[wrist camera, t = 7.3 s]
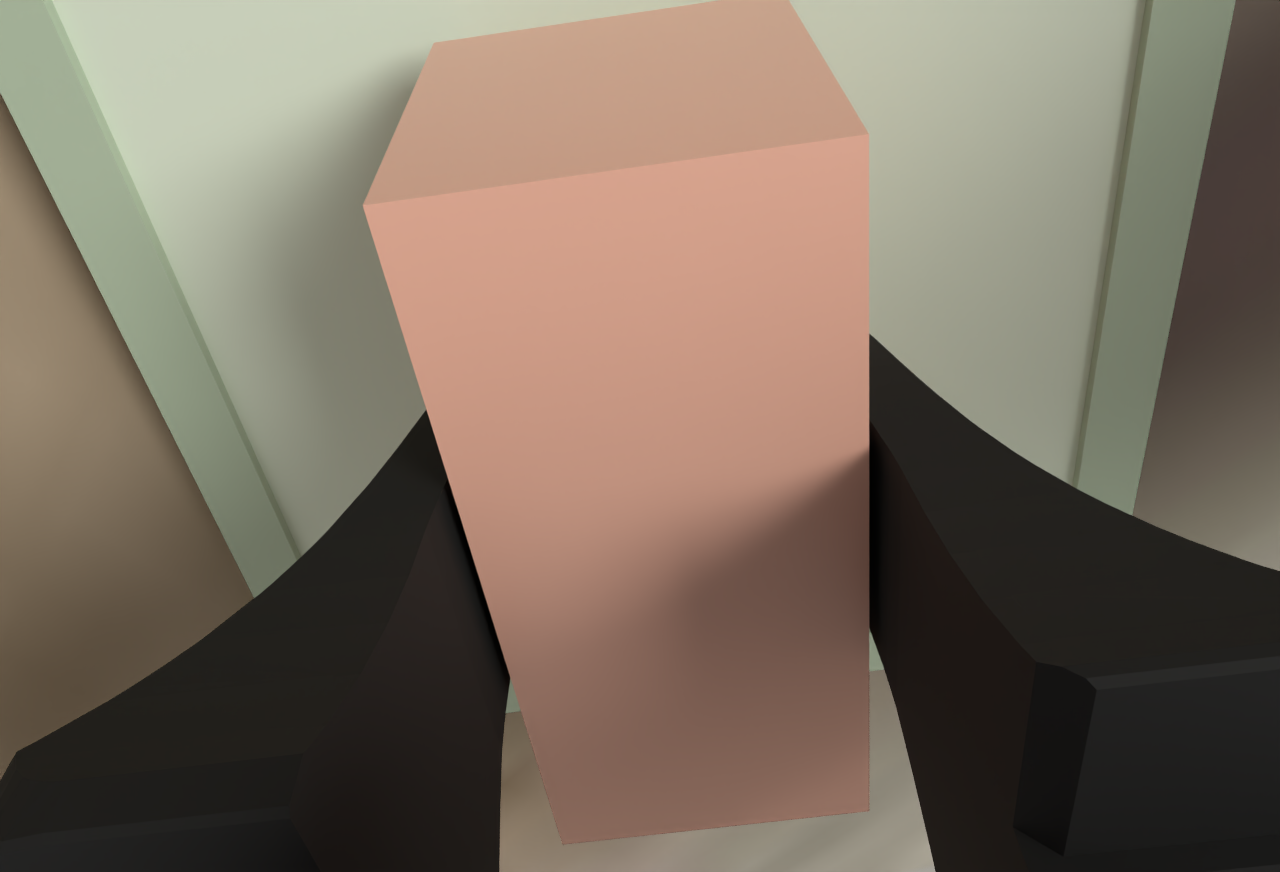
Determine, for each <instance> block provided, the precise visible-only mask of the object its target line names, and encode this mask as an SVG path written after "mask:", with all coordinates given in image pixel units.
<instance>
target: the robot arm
mask: <svg viewBox="0 0 1280 872" xmlns="http://www.w3.org/2000/svg"><path fill="white" fill-rule="evenodd" d="M869 629H870V632H871V634H872V637H873V640H874V643H875V645H876V648H877V651H878V653H879V656H880V659H881V662H882V664H883V667H884V670H885V673H886V675H887V679H888V682H889V685H890V688H891V691H892V695H893V698H894V701H895V704H896V708H897V712H898V716H899V720H900V724H901V728H902V732H903V736H904V740H905V744H906V748H907V752H908V756H909V760H910V764H911V768H912V772H913V776H914V781H915V785H916V789H917V793H918V798H919V802H920V806H921V810H922V815H923V819H924V823H925V827H926V832H927V836H928V840H929V844H930V849H931V853H932V857H933V862H934V866H935V871H936V872H1280V571H1277V570H1274V569H1270V568H1267V567H1263V566H1260V565H1257V564H1254V563H1251V562H1248V561H1245V560H1242V559H1240V558H1237V557H1234V556H1231V555H1228V554H1226V553H1223V552H1220V551H1217V550H1215V549H1212V548H1209V547H1206V546H1204V545H1201V544H1198V543H1195V542H1193V541H1190V540H1188V539H1185V538H1183V537H1180V536H1178V535H1175V534H1173V533H1170V532H1168V531H1166V530H1163V529H1161V528H1158V527H1156V526H1154V525H1151V524H1149V523H1147V522H1145V521H1143V520H1140V519H1138V518H1136V517H1134V516H1132V515H1130V514H1127V513H1125V512H1123V511H1121V510H1119V509H1117V508H1114V507H1112V506H1110V505H1108V504H1106V503H1104V502H1102V501H1100V500H1098V499H1096V498H1094V497H1092V496H1090V495H1088V494H1086V493H1084V492H1082V491H1080V490H1078V489H1077V488H1075V487H1073V486H1071V485H1070V484H1068V483H1066V482H1064V481H1063V480H1061V479H1059V478H1057V477H1056V476H1054V475H1052V474H1050V473H1049V472H1047V471H1045V470H1043V469H1042V468H1040V467H1038V466H1036V465H1035V464H1033V463H1031V462H1030V461H1028V460H1027V459H1025V458H1023V457H1022V456H1020V455H1019V454H1017V453H1016V452H1014V451H1013V450H1011V449H1010V448H1008V447H1007V446H1005V445H1004V444H1002V443H1001V442H1000V441H998V440H997V439H995V438H994V437H992V436H991V435H989V434H988V433H987V432H985V431H984V430H982V429H981V428H979V427H978V426H977V425H976V424H974V423H973V422H972V421H970V420H969V419H968V418H966V417H965V416H964V415H963V414H961V413H960V412H959V411H958V410H956V409H955V408H954V407H953V406H952V405H950V404H949V403H948V402H947V401H945V400H944V399H943V398H942V397H940V396H939V395H938V394H937V393H936V392H934V391H933V390H932V389H931V388H930V387H928V386H927V385H926V384H925V383H924V382H923V381H922V380H920V379H919V378H918V377H917V376H916V375H915V374H914V373H913V372H911V371H910V370H909V369H908V368H907V367H906V366H905V365H904V364H903V363H901V362H900V361H899V360H898V359H897V358H896V357H895V356H894V355H893V354H892V353H891V352H889V351H888V350H887V349H886V348H885V347H884V346H883V345H882V344H881V343H880V342H879V341H878V340H876V339H875V338H874V337H873V336H872V335H871V334H869ZM509 685H510V675H509V672H508V668H507V665H506V662H505V659H504V656H503V652H502V649H501V646H500V643H499V640H498V636H497V633H496V630H495V627H494V624H493V620H492V617H491V614H490V611H489V608H488V604H487V601H486V598H485V595H484V592H483V588H482V585H481V582H480V579H479V576H478V573H477V569H476V566H475V563H474V560H473V557H472V553H471V550H470V547H469V544H468V541H467V537H466V534H465V531H464V528H463V525H462V521H461V518H460V515H459V512H458V509H457V505H456V502H455V499H454V496H453V493H452V489H451V486H450V483H449V480H448V477H447V474H446V470H445V467H444V464H443V461H442V458H441V454H440V451H439V448H438V445H437V442H436V438H435V435H434V432H433V429H432V426H431V422H430V419H429V416H428V413H427V410H425V412H424V413H423V414H422V416H421V417H420V418H419V420H418V421H417V422H416V424H415V425H414V426H413V428H412V429H411V430H410V432H409V433H408V434H407V436H406V437H405V438H404V440H403V441H402V442H401V444H400V445H399V446H398V448H397V449H396V450H395V452H394V453H393V454H392V455H391V457H390V458H389V459H388V460H387V462H386V463H385V464H384V465H383V467H382V468H381V469H380V470H379V472H378V473H377V474H376V476H375V477H374V478H373V479H372V481H371V482H370V483H369V484H368V486H367V487H366V488H365V489H364V490H363V491H362V492H361V493H360V495H359V496H358V497H357V498H356V499H355V500H354V501H353V502H352V504H351V505H350V506H349V507H348V508H347V509H346V510H345V511H344V513H343V514H342V515H341V516H340V517H339V518H338V519H337V520H336V522H335V523H334V524H333V525H332V526H331V527H330V528H329V529H328V530H327V532H326V533H325V534H324V535H323V536H322V537H321V538H320V539H319V540H318V541H317V542H316V543H315V544H314V545H313V546H312V547H311V548H310V549H309V550H308V551H307V552H306V553H305V554H304V555H303V556H302V557H300V558H299V559H298V560H297V561H296V562H295V563H294V564H293V565H292V566H291V567H290V568H288V569H287V570H286V571H285V572H284V573H283V574H282V575H281V576H280V577H279V578H278V579H276V580H275V581H274V582H273V583H272V584H271V585H270V586H268V587H267V588H266V589H265V590H264V591H263V592H262V593H260V594H259V595H258V596H256V597H255V598H254V599H253V600H251V601H250V602H249V603H248V604H246V605H245V606H244V607H243V608H241V609H240V610H239V611H237V612H236V613H235V614H234V615H232V616H231V617H230V618H229V619H227V620H226V621H225V622H223V623H222V624H221V625H220V626H218V627H217V628H216V629H215V630H213V631H212V632H211V633H210V634H208V635H207V636H206V637H204V638H203V639H202V640H200V641H199V642H197V643H196V644H195V645H193V646H192V647H190V648H189V649H187V650H186V651H185V652H183V653H182V654H180V655H179V656H177V657H176V658H175V659H173V660H172V661H170V662H169V663H167V664H166V665H164V666H163V667H161V668H160V669H158V670H157V671H155V672H154V673H152V674H150V675H149V676H147V677H146V678H144V679H143V680H141V681H140V682H138V683H137V684H135V685H134V686H132V687H130V688H129V689H127V690H126V691H124V692H122V693H121V694H119V695H117V696H116V697H114V698H112V699H111V700H109V701H108V702H106V703H104V704H102V705H101V706H99V707H97V708H95V709H93V710H92V711H90V712H88V713H86V714H85V715H83V716H81V717H79V718H77V719H76V720H74V721H72V722H70V723H69V724H67V725H65V726H63V727H61V728H60V729H58V730H56V731H54V732H53V733H51V734H49V735H47V736H45V737H44V738H42V739H40V740H38V741H37V742H35V743H33V744H31V745H29V746H27V747H25V748H23V749H21V750H19V751H17V753H16V754H15V756H14V758H13V759H12V761H11V763H10V764H9V766H8V768H7V770H6V772H5V773H4V775H3V777H2V779H1V781H0V872H499V847H500V798H501V763H502V744H503V733H504V722H505V714H506V707H507V699H508V692H509Z"/></svg>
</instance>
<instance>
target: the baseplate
mask: <svg viewBox="0 0 1280 872" xmlns="http://www.w3.org/2000/svg"><path fill="white" fill-rule="evenodd" d="M711 1H718V0H0V93H1V95H2V97H3V99H4V101H5V103H6V105H7V107H8V109H9V111H10V113H11V115H12V117H13V119H14V121H15V123H16V125H17V127H18V129H19V131H20V133H21V135H22V137H23V139H24V141H25V143H26V145H27V147H28V149H29V151H30V153H31V155H32V157H33V159H34V161H35V163H36V165H37V167H38V169H39V171H40V173H41V175H42V177H43V179H44V181H45V183H46V185H47V187H48V189H49V191H50V193H51V195H52V197H53V199H54V201H55V203H56V205H57V207H58V208H59V210H60V212H61V214H62V216H63V218H64V220H65V222H66V224H67V226H68V228H69V230H70V232H71V234H72V236H73V238H74V240H75V242H76V244H77V246H78V248H79V250H80V252H81V254H82V256H83V258H84V260H85V262H86V264H87V266H88V268H89V270H90V272H91V274H92V276H93V278H94V280H95V282H96V284H97V286H98V288H99V290H100V292H101V294H102V296H103V298H104V300H105V302H106V304H107V306H108V308H109V310H110V312H111V314H112V316H113V318H114V320H115V322H116V324H117V326H118V328H119V330H120V332H121V334H122V336H123V338H124V340H125V342H126V344H127V346H128V348H129V350H130V352H131V354H132V356H133V358H134V360H135V362H136V364H137V366H138V368H139V370H140V372H141V374H142V376H143V378H144V380H145V382H146V384H147V386H148V388H149V390H150V392H151V394H152V396H153V398H154V400H155V402H156V404H157V406H158V408H159V410H160V412H161V414H162V416H163V418H164V420H165V422H166V424H167V426H168V428H169V430H170V432H171V434H172V436H173V438H174V440H175V442H176V443H177V445H178V447H179V449H180V451H181V453H182V455H183V457H184V459H185V461H186V463H187V465H188V467H189V469H190V471H191V473H192V475H193V477H194V479H195V481H196V483H197V485H198V487H199V489H200V491H201V493H202V495H203V497H204V499H205V501H206V503H207V505H208V507H209V509H210V511H211V513H212V515H213V517H214V519H215V521H216V523H217V525H218V527H219V529H220V531H221V533H222V535H223V537H224V539H225V541H226V543H227V545H228V547H229V549H230V551H231V553H232V555H233V557H234V559H235V561H236V563H237V565H238V567H239V569H240V571H241V573H242V575H243V577H244V579H245V581H246V583H247V585H248V587H249V589H250V591H251V593H252V595H253V597H254V598H255V597H256V596H258V595H259V594H260V593H262V592H263V591H264V590H265V589H266V588H267V587H268V586H270V585H271V584H272V583H273V582H274V581H275V580H276V579H278V578H279V577H280V576H281V575H282V574H283V573H284V572H285V571H286V570H287V569H288V568H290V567H291V566H292V565H293V564H294V563H295V562H296V561H297V560H298V559H299V558H300V557H302V556H303V555H304V554H305V553H306V552H307V551H308V550H309V549H310V548H311V547H312V546H313V545H314V544H315V543H316V542H317V541H318V540H319V539H320V538H321V537H322V536H323V535H324V534H325V533H326V532H327V530H328V529H329V528H330V527H331V526H332V525H333V524H334V523H335V522H336V520H337V519H338V518H339V517H340V516H341V515H342V514H343V513H344V511H345V510H346V509H347V508H348V507H349V506H350V505H351V504H352V502H353V501H354V500H355V499H356V498H357V497H358V496H359V495H360V493H361V492H362V491H363V490H364V489H365V488H366V487H367V486H368V484H369V483H370V482H371V481H372V479H373V478H374V477H375V476H376V474H377V473H378V472H379V470H380V469H381V468H382V467H383V465H384V464H385V463H386V462H387V460H388V459H389V458H390V457H391V455H392V454H393V453H394V452H395V450H396V449H397V448H398V446H399V445H400V444H401V442H402V441H403V440H404V438H405V437H406V436H407V434H408V433H409V432H410V430H411V429H412V428H413V426H414V425H415V424H416V422H417V421H418V420H419V418H420V417H421V416H422V414H423V413H424V412H425V410H426V406H425V403H424V400H423V397H422V394H421V390H420V387H419V384H418V381H417V378H416V375H415V371H414V368H413V365H412V362H411V359H410V355H409V352H408V349H407V346H406V343H405V339H404V336H403V333H402V330H401V327H400V323H399V320H398V317H397V314H396V311H395V307H394V304H393V301H392V298H391V295H390V291H389V288H388V285H387V282H386V279H385V276H384V272H383V269H382V266H381V263H380V260H379V256H378V253H377V250H376V247H375V244H374V240H373V237H372V234H371V231H370V228H369V224H368V221H367V218H366V215H365V212H364V208H363V204H364V201H365V199H366V197H367V194H368V192H369V190H370V188H371V185H372V183H373V181H374V178H375V176H376V174H377V171H378V169H379V167H380V165H381V162H382V160H383V158H384V155H385V153H386V151H387V149H388V146H389V144H390V142H391V139H392V137H393V135H394V133H395V130H396V128H397V126H398V123H399V121H400V119H401V117H402V114H403V112H404V110H405V107H406V105H407V103H408V101H409V98H410V96H411V94H412V91H413V89H414V87H415V85H416V82H417V80H418V78H419V75H420V73H421V71H422V69H423V66H424V64H425V62H426V59H427V57H428V55H429V52H430V50H431V48H432V46H433V43H436V42H442V41H449V40H456V39H462V38H469V37H476V36H483V35H489V34H496V33H503V32H510V31H516V30H523V29H530V28H536V27H543V26H550V25H557V24H563V23H570V22H577V21H584V20H590V19H597V18H604V17H610V16H617V15H624V14H631V13H637V12H644V11H651V10H658V9H664V8H671V7H678V6H684V5H691V4H698V3H705V2H711ZM789 1H790V3H791V5H792V6H793V8H794V10H795V11H796V13H797V15H798V16H799V18H800V20H801V21H802V23H803V25H804V26H805V28H806V30H807V31H808V33H809V35H810V36H811V38H812V40H813V41H814V43H815V45H816V46H817V48H818V50H819V51H820V53H821V55H822V56H823V58H824V60H825V61H826V63H827V65H828V66H829V68H830V70H831V71H832V73H833V75H834V76H835V78H836V80H837V81H838V83H839V85H840V86H841V88H842V90H843V91H844V93H845V95H846V96H847V98H848V100H849V101H850V103H851V105H852V106H853V108H854V110H855V111H856V113H857V115H858V116H859V118H860V120H861V121H862V123H863V125H864V126H865V128H866V130H867V131H868V133H869V334H871V335H872V336H873V337H874V338H875V339H876V340H878V341H879V342H880V343H881V344H882V345H883V346H884V347H885V348H886V349H887V350H888V351H889V352H891V353H892V354H893V355H894V356H895V357H896V358H897V359H898V360H899V361H900V362H901V363H903V364H904V365H905V366H906V367H907V368H908V369H909V370H910V371H911V372H913V373H914V374H915V375H916V376H917V377H918V378H919V379H920V380H922V381H923V382H924V383H925V384H926V385H927V386H928V387H930V388H931V389H932V390H933V391H934V392H936V393H937V394H938V395H939V396H940V397H942V398H943V399H944V400H945V401H947V402H948V403H949V404H950V405H952V406H953V407H954V408H955V409H956V410H958V411H959V412H960V413H961V414H963V415H964V416H965V417H966V418H968V419H969V420H970V421H972V422H973V423H974V424H976V425H977V426H978V427H979V428H981V429H982V430H984V431H985V432H987V433H988V434H989V435H991V436H992V437H994V438H995V439H997V440H998V441H1000V442H1001V443H1002V444H1004V445H1005V446H1007V447H1008V448H1010V449H1011V450H1013V451H1014V452H1016V453H1017V454H1019V455H1020V456H1022V457H1023V458H1025V459H1027V460H1028V461H1030V462H1031V463H1033V464H1035V465H1036V466H1038V467H1040V468H1042V469H1043V470H1045V471H1047V472H1049V473H1050V474H1052V475H1054V476H1056V477H1057V478H1059V479H1061V480H1063V481H1064V482H1066V483H1068V484H1070V485H1071V486H1073V487H1075V488H1077V489H1078V490H1080V491H1082V492H1084V493H1086V494H1088V495H1090V496H1092V497H1094V498H1096V499H1098V500H1100V501H1102V502H1104V503H1106V504H1108V505H1110V506H1112V507H1114V508H1117V509H1119V510H1121V511H1123V512H1125V513H1127V514H1130V515H1132V514H1133V509H1134V504H1135V499H1136V495H1137V490H1138V485H1139V480H1140V475H1141V470H1142V465H1143V460H1144V455H1145V450H1146V445H1147V440H1148V435H1149V430H1150V425H1151V420H1152V415H1153V410H1154V405H1155V400H1156V395H1157V390H1158V385H1159V380H1160V375H1161V370H1162V365H1163V360H1164V355H1165V350H1166V345H1167V340H1168V335H1169V330H1170V325H1171V320H1172V315H1173V310H1174V305H1175V300H1176V295H1177V290H1178V285H1179V280H1180V275H1181V270H1182V266H1183V261H1184V256H1185V251H1186V246H1187V241H1188V236H1189V231H1190V226H1191V221H1192V216H1193V211H1194V206H1195V201H1196V196H1197V191H1198V186H1199V181H1200V176H1201V171H1202V166H1203V161H1204V156H1205V151H1206V146H1207V141H1208V136H1209V131H1210V126H1211V121H1212V116H1213V111H1214V106H1215V101H1216V96H1217V91H1218V86H1219V81H1220V76H1221V71H1222V66H1223V61H1224V56H1225V51H1226V46H1227V41H1228V37H1229V32H1230V27H1231V22H1232V17H1233V12H1234V7H1235V2H1236V0H789ZM876 670H884V667H883V664H882V662H881V659H880V656H879V653H878V651H877V648H876V645H875V643H874V640H873V637H872V634H871V632H870V629H869V671H876ZM518 711H521V710H520V707H519V703H518V700H517V697H516V694H515V691H514V687H513V684H512V681H511V678H510V685H509V692H508V699H507V707H506V713H510V712H518Z"/></svg>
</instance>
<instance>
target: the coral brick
mask: <svg viewBox="0 0 1280 872" xmlns="http://www.w3.org/2000/svg"><path fill="white" fill-rule="evenodd" d="M363 208H364V212H365V215H366V218H367V221H368V224H369V228H370V231H371V234H372V237H373V240H374V244H375V247H376V250H377V253H378V256H379V260H380V263H381V266H382V269H383V272H384V276H385V279H386V282H387V285H388V288H389V291H390V295H391V298H392V301H393V304H394V307H395V311H396V314H397V317H398V320H399V323H400V327H401V330H402V333H403V336H404V339H405V343H406V346H407V349H408V352H409V355H410V359H411V362H412V365H413V368H414V371H415V375H416V378H417V381H418V384H419V387H420V390H421V394H422V397H423V400H424V403H425V406H426V410H427V413H428V416H429V419H430V422H431V426H432V429H433V432H434V435H435V438H436V442H437V445H438V448H439V451H440V454H441V458H442V461H443V464H444V467H445V470H446V474H447V477H448V480H449V483H450V486H451V489H452V493H453V496H454V499H455V502H456V505H457V509H458V512H459V515H460V518H461V521H462V525H463V528H464V531H465V534H466V537H467V541H468V544H469V547H470V550H471V553H472V557H473V560H474V563H475V566H476V569H477V573H478V576H479V579H480V582H481V585H482V588H483V592H484V595H485V598H486V601H487V604H488V608H489V611H490V614H491V617H492V620H493V624H494V627H495V630H496V633H497V636H498V640H499V643H500V646H501V649H502V652H503V656H504V659H505V662H506V665H507V668H508V672H509V675H510V678H511V681H512V684H513V687H514V691H515V694H516V697H517V700H518V703H519V707H520V710H521V713H522V716H523V719H524V723H525V726H526V729H527V732H528V735H529V739H530V742H531V745H532V748H533V751H534V755H535V758H536V761H537V764H538V767H539V771H540V774H541V777H542V780H543V783H544V786H545V790H546V793H547V796H548V799H549V802H550V806H551V809H552V812H553V815H554V818H555V822H556V825H557V828H558V831H559V834H560V838H561V841H562V844H571V843H581V842H590V841H599V840H608V839H617V838H627V837H636V836H645V835H654V834H663V833H673V832H682V831H691V830H700V829H709V828H719V827H728V826H737V825H746V824H755V823H765V822H774V821H783V820H792V819H801V818H811V817H820V816H829V815H838V814H847V813H857V812H866V811H869V133H868V131H867V130H866V128H865V126H864V125H863V123H862V121H861V120H860V118H859V116H858V115H857V113H856V111H855V110H854V108H853V106H852V105H851V103H850V101H849V100H848V98H847V96H846V95H845V93H844V91H843V90H842V88H841V86H840V85H839V83H838V81H837V80H836V78H835V76H834V75H833V73H832V71H831V70H830V68H829V66H828V65H827V63H826V61H825V60H824V58H823V56H822V55H821V53H820V51H819V50H818V48H817V46H816V45H815V43H814V41H813V40H812V38H811V36H810V35H809V33H808V31H807V30H806V28H805V26H804V25H803V23H802V21H801V20H800V18H799V16H798V15H797V13H796V11H795V10H794V8H793V6H792V5H791V3H790V1H789V0H718V1H711V2H705V3H698V4H691V5H684V6H678V7H671V8H664V9H658V10H651V11H644V12H637V13H631V14H624V15H617V16H610V17H604V18H597V19H590V20H584V21H577V22H570V23H563V24H557V25H550V26H543V27H536V28H530V29H523V30H516V31H510V32H503V33H496V34H489V35H483V36H476V37H469V38H462V39H456V40H449V41H442V42H436V43H433V46H432V48H431V50H430V52H429V55H428V57H427V59H426V62H425V64H424V66H423V69H422V71H421V73H420V75H419V78H418V80H417V82H416V85H415V87H414V89H413V91H412V94H411V96H410V98H409V101H408V103H407V105H406V107H405V110H404V112H403V114H402V117H401V119H400V121H399V123H398V126H397V128H396V130H395V133H394V135H393V137H392V139H391V142H390V144H389V146H388V149H387V151H386V153H385V155H384V158H383V160H382V162H381V165H380V167H379V169H378V171H377V174H376V176H375V178H374V181H373V183H372V185H371V188H370V190H369V192H368V194H367V197H366V199H365V201H364V204H363Z"/></svg>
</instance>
